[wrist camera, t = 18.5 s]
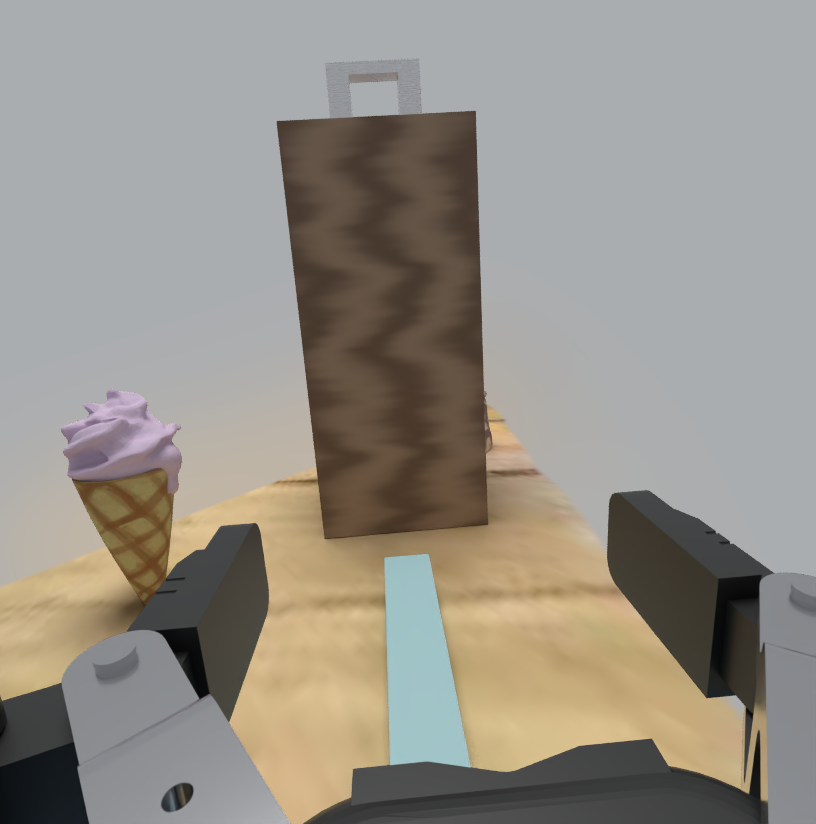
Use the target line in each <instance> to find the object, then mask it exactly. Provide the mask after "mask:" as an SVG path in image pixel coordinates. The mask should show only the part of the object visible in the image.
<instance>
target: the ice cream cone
mask: <svg viewBox="0 0 816 824" xmlns="http://www.w3.org/2000/svg"><path fill="white" fill-rule="evenodd" d="M83 406H84V407H85V409H86V410H87V411H88V412H89V416H88V418H87V419H83V420H78V421H77V422H74V423H72V424H68V425H65V426H63V427H62V428H61V432H62V433H63V435H64V436H65V437H66V438H67V440H68V445H67V446H66V447H65V449H64V451H63V453H64V455H65V456H66V457H67V458H68V459H69V468H68V476H69V477H70V478H72V481H73V483H74V484H75V487H76V489H77V491H78V493H79V495H80V497H81V499H82V501H83V503H84V505H85V507H86V510H87V512H88V513H89V516H90V518H91V519H92V521H93V523H94V525H95V527H96V529H97V530H98V532H99V534H100V536H101V537H102V539H103V541H104V543H105V544H106V546H107V548H108V549H109V551H110V553H111V554H112V556H113V558H114V559H115V561H116V563H117V564H118V566H119V567H120V569H121V570H122V572H123V573H124V575H125V577H126V578H127V580H128V581H129V583H130V584H131V586H132V587H133V589H134V590H135V592H136V594H137V595H138V597H139V598H140V600H141V601H142V603H143V604H144V605H147V603H148V602H149V601H150V599H151V598H152V597H153V595H156V591H157V590H158V589H159V587H160V586H161V584H162V583H163V582H165V581H166V573H167V564H168V556H169V548H170V537H171V527H172V514H173V497H174V494H175V493H176V491H177V490H178V486H179V483H178V473H179V470H180V468H181V463H182V457H181V453H180V451H179V449H178V448H177V447H176V446H175V445H174V444H173V443H172V441H171V440H172V437H173V436H174V434H175V433H176V431H177V430H179V429H180V428H181V426H180V425H179V426H177V425H176V424H174V423H171V424H169V425H167V426H165V425H164V424H162V423H161V422H159V421H158V420H157V419H156V418H154V417H153V416H152V415H151V414H150V413H149V412H148V410H147V402H146V400H145V399H144V398H143V397H142V396H141V395H139V394H138V393H135V392H134V393H131V392H122V391H119V390H117V389H109V391H107V402H106V403H105V404H95V403H92V402H88V403H86V404H84V405H83Z"/></svg>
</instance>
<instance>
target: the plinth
mask: <svg viewBox="0 0 816 824" xmlns="http://www.w3.org/2000/svg"><path fill="white" fill-rule="evenodd" d="M277 129H278V137H279V146H280V155H281V163H282V172H283V181H284V189H285V198H286V206H287V216H288V224H289V232H290V242H291V250H292V259H293V266H294V275H295V285H296V293H297V302H298V310H299V320H300V328H301V337H302V345H303V354H304V363H305V372H306V380H307V389H308V398H309V406H310V415H311V423H312V432H313V441H314V449H315V458H316V467H317V476H318V484H319V493H320V502H321V510H322V519H323V528H324V536H325V539H326V538H338V537H349V536H360V535H372V534H383V533H394V532H406V531H417V530H428V529H440V528H451V527H462V526H474V525H485V524H488V518H487V484H486V449H485V415H484V382H483V346H482V312H481V277H480V243H479V210H478V175H477V142H476V141H477V140H476V111H465V112H446V113H428V114H427V113H426V114H407V115H388V116H370V117H369V116H368V117H349V118H329V119H310V120H292V121H291V120H290V121H277Z"/></svg>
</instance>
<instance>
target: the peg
mask: <svg viewBox="0 0 816 824" xmlns="http://www.w3.org/2000/svg"><path fill="white" fill-rule="evenodd" d="M384 559H385V596H386V632H387V669H388V705H389V742H390V765H397V764H406V763H416V762H426V761H429V762H436V763H443V764H450V765H457V766H464V767H471V766H470V761H469V756H468V751H467V746H466V741H465V736H464V731H463V726H462V721H461V716H460V711H459V706H458V700H457V695H456V690H455V685H454V680H453V675H452V670H451V665H450V660H449V655H448V650H447V645H446V639H445V634H444V629H443V624H442V619H441V614H440V609H439V604H438V599H437V594H436V589H435V584H434V579H433V573H432V568H431V563H430V558H429V554H420V555H409V556H397V557H385V558H384Z"/></svg>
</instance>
